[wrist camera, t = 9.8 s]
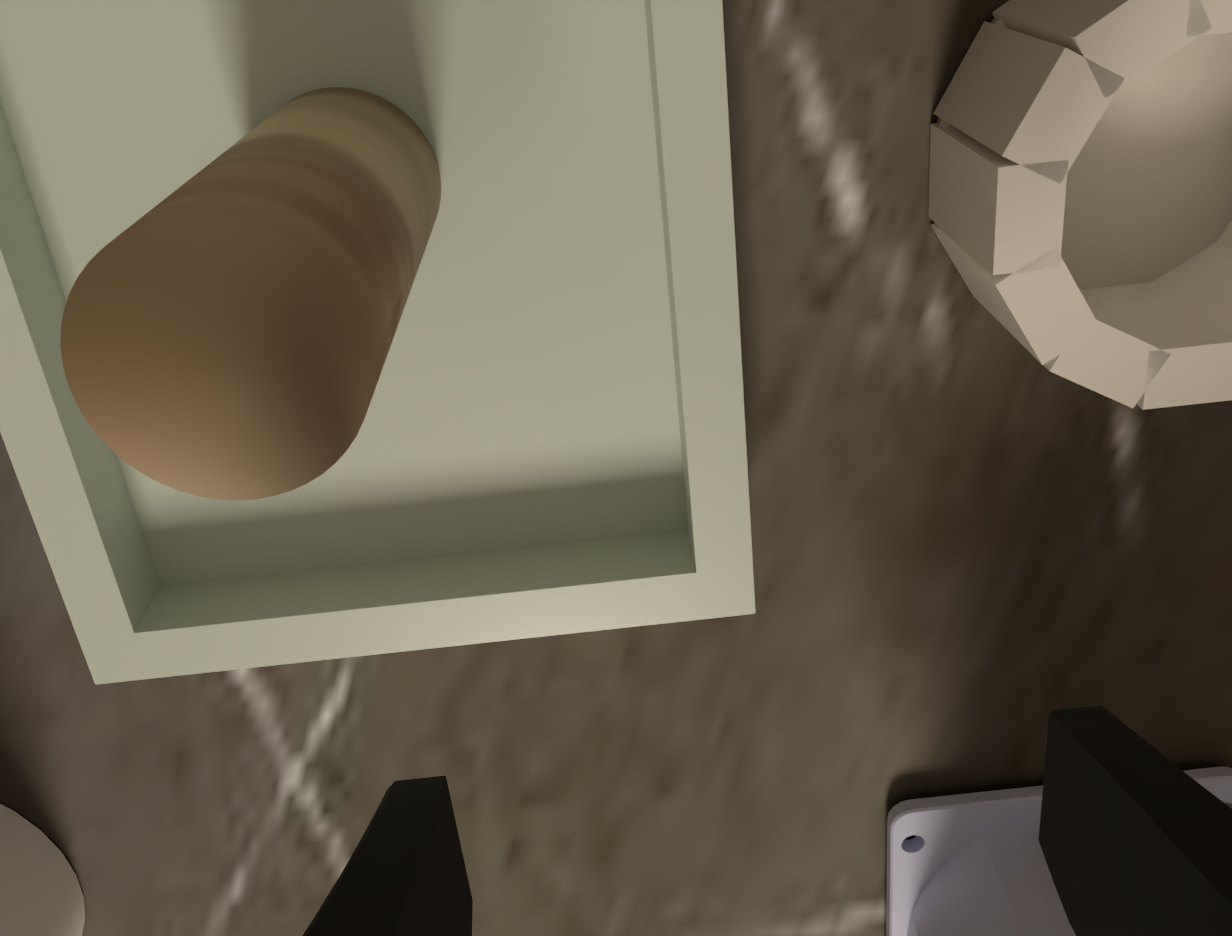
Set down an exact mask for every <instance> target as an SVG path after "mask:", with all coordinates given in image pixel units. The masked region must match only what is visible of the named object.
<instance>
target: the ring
mask: <svg viewBox="0 0 1232 936" xmlns="http://www.w3.org/2000/svg"><path fill="white" fill-rule="evenodd" d="M992 14H993V16H994V19H993V20H992V21H991V22H990V23H989V22H986V21H984V22H983V24H982V26H981V28H980V30H979V31H978V33H977V35H976V37H975V39H974V41H973V42H972V44H971V46H970V48H969V50H968V51H967V53H966V55H965V57H964V59H963V61H962V62H961V64H960V66H959V68H958V70H957V71H956V73H955V75H954V77H953V79H952V80H951V82H950V84H949V86H948V88H947V90H946V91H945V93H944V95H943V97H942V99H941V100H940V102H939V104H938V106H937V108H936V110H935V111H934V113H933V114H935V115H936V116H938V119H937V123H931V124H930V168H929V212H928V217H929V218H930V219H931V220H932V221H934V222H935V223H933V224H932V225H931V227H932V229H933V230H934V232H935V234H936V235H937V237H938V239H939V240H940V242H941V244H942V245H943V247H944V249H945V250H946V252H947V254H948V255H949V257H950V259H951V260H952V262H953V264H954V265H955V267H956V269H957V270H958V272H959V273H960V275H961V277H962V278H963V280H964V282H965V283H966V285H967V287H968V288H969V290H970V292H971V293H972V295H973V296H974V297H975V298H976V299H977V300H978V301H979V302H980V303H981V304H982V305H983V306H984V307H985V308H986V309H987V310H988V311H989V312H990V313H991V314H992V315H993V316H994V317H995V318H996V319H997V320H998V321H999V322H1000V323H1001V324H1002V325H1003V326H1004V327H1005V328H1006V329H1007V330H1008V331H1009V332H1010V333H1011V334H1012V335H1013V336H1014V337H1015V338H1016V339H1017V340H1018V341H1019V342H1020V343H1021V344H1022V345H1023V346H1024V347H1025V348H1026V349H1027V350H1028V351H1029V352H1030V353H1031V354H1032V355H1033V356H1034V357H1035V358H1036V359H1037V360H1038V361H1039V362H1040V363H1041V364H1042V365H1044V366H1045V367H1046V368H1047V369H1048V370H1049V371H1050V372H1052V373H1054V374H1057V375H1059V376H1061V377H1063V378H1066V379H1068V380H1070V381H1072V382H1075V383H1077V384H1079V385H1081V386H1084V387H1086V388H1088V389H1090V390H1093V391H1095V392H1097V393H1099V394H1102V395H1104V396H1106V397H1108V398H1111V399H1113V400H1115V401H1117V402H1120V403H1122V404H1124V405H1126V406H1129V407H1131V408H1134V406H1135V405H1136V404H1137V405H1138V406H1139V407H1140V408H1141V409H1142V410H1146V409H1155V408H1164V407H1173V406H1183V405H1192V404H1201V403H1210V402H1220V401H1229V400H1232V0H1009V1H1008V2H1006V3H1005V4H1003V5H1002V6H1000V7H999V8H998V9H996V10H995V11H993V12H992Z"/></svg>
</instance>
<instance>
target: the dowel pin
mask: <svg viewBox="0 0 1232 936" xmlns="http://www.w3.org/2000/svg"><path fill="white" fill-rule="evenodd" d="M440 200H441V180H440V172H439V168H438V164H437V160H436V158H435V155H434V152H433V150H432V148H431V146H430V144H429V142H428V140H427V138H426V137H425V135H424V134H423V132H422V131H421V130H420V128H419V127H418V126H417V125H416V123H415V122H414V121H413V120H412V119H411V118H410V117H409V116H408V115H407V114H406V113H404V112H403V111H402V110H401V109H400V108H398V107H397V106H395V105H394V104H392V103H391V102H389V101H388V100H386V99H384V98H382V97H380V96H378V95H375V94H372V93H370V92H367V91H363V90H359V89H354V88H346V87H329V88H322V89H317V90H313V91H310V92H307V93H304V94H302V95H300V96H298V97H296V98H294V99H292V100H290V101H289V102H288V103H286V104H285V105H283V106H282V107H281V108H279V109H278V110H277V111H276V112H274V113H273V114H272V115H271V116H269V117H268V118H267V119H265V120H264V121H263V122H262V123H260V124H259V125H258V126H257V127H255V128H254V129H253V130H252V131H250V132H249V133H248V134H246V135H245V136H244V137H243V138H241V139H240V140H239V141H238V142H236V143H235V144H234V145H233V146H231V147H230V148H229V149H227V150H226V151H225V152H224V153H222V154H221V155H220V156H219V157H217V158H216V159H215V160H214V161H212V162H211V163H210V164H208V165H207V166H206V167H205V168H203V169H202V170H201V171H200V172H198V173H197V174H196V175H194V176H193V177H192V178H191V179H189V180H188V181H187V182H186V183H184V184H183V185H182V186H181V187H179V188H178V189H177V190H175V191H174V192H173V193H172V194H170V195H169V196H168V197H167V198H165V199H164V200H163V201H162V202H160V203H159V204H158V205H156V206H155V207H154V208H153V209H151V210H150V211H149V212H148V213H146V214H145V215H144V216H143V217H141V218H140V219H139V220H137V221H136V222H135V223H134V224H132V225H131V226H130V227H129V228H127V229H126V230H125V231H124V232H122V233H121V234H120V235H118V236H117V237H116V238H115V239H113V240H112V241H111V242H110V243H108V244H107V245H106V246H105V247H103V248H102V249H101V250H100V251H99V252H98V253H97V254H96V255H95V256H94V257H93V258H92V259H91V260H90V261H89V262H88V264H87V265H86V266H85V268H84V269H83V270H82V272H81V273H80V274H79V276H78V277H77V279H76V281H75V283H74V285H73V287H72V289H71V291H70V293H69V296H68V299H67V302H66V305H65V308H64V312H63V318H62V324H61V344H60V347H61V355H62V363H63V368H64V372H65V375H66V379H67V383H68V386H69V388H70V390H71V393H72V395H73V398H74V400H75V402H76V404H77V406H78V408H79V409H80V411H81V413H82V415H83V416H84V418H85V420H86V421H87V422H88V424H89V425H90V426H91V428H92V429H93V430H94V432H95V433H96V434H97V436H98V437H99V438H100V439H101V440H102V441H103V442H104V443H105V444H106V445H107V446H108V447H109V448H110V449H111V450H112V451H113V452H114V453H115V454H116V455H118V456H119V457H120V458H121V459H122V460H123V461H125V462H126V463H127V464H129V465H130V466H132V467H133V468H135V469H136V470H138V471H139V472H140V473H142V474H144V475H145V476H147V477H149V478H151V479H153V480H155V481H157V482H159V483H161V484H163V485H166V486H168V487H171V488H173V489H176V490H178V491H181V492H185V493H188V494H192V495H195V496H199V497H205V498H211V499H217V500H235V501H238V500H255V499H261V498H267V497H272V496H276V495H279V494H283V493H286V492H289V491H292V490H294V489H296V488H299V487H301V486H303V485H305V484H307V483H309V482H311V481H312V480H314V479H315V478H317V477H319V476H320V475H322V474H323V473H324V472H326V471H327V470H328V469H329V468H330V467H331V466H333V465H334V464H335V463H336V462H337V461H338V460H339V459H340V458H341V457H342V455H343V454H344V453H345V452H346V451H347V450H348V448H349V447H350V445H351V444H352V442H353V441H354V439H355V438H356V436H357V434H358V432H359V430H360V428H361V426H362V423H363V421H364V419H365V416H366V413H367V411H368V408H369V405H370V402H371V399H372V397H373V394H374V391H375V388H376V385H377V383H378V380H379V377H380V374H381V371H382V369H383V366H384V363H385V360H386V358H387V355H388V352H389V349H390V346H391V344H392V341H393V338H394V335H395V332H396V330H397V327H398V324H399V321H400V319H401V316H402V313H403V310H404V307H405V305H406V302H407V299H408V296H409V293H410V291H411V288H412V285H413V282H414V279H415V277H416V274H417V271H418V268H419V266H420V263H421V260H422V257H423V254H424V252H425V249H426V246H427V243H428V240H429V238H430V235H431V232H432V229H433V226H434V224H435V221H436V218H437V214H438V211H439V206H440Z"/></svg>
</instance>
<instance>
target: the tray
mask: <svg viewBox="0 0 1232 936" xmlns="http://www.w3.org/2000/svg"><path fill="white" fill-rule="evenodd" d="M329 87H346V88H354V89H359V90H363V91H367V92H370V93H372V94H375V95H378V96H380V97H382V98H384V99H386V100H388V101H389V102H391V103H392V104H394V105H395V106H397V107H398V108H400V109H401V110H402V111H403V112H404V113H406V114H407V115H408V116H409V117H410V118H411V119H412V120H413V121H414V122H415V123H416V125H417V126H418V127H419V128H420V130H421V131H422V132H423V134H424V135H425V137H426V138H427V140H428V142H429V144H430V146H431V148H432V150H433V152H434V155H435V158H436V160H437V164H438V168H439V172H440V180H441V200H440V206H439V211H438V214H437V218H436V221H435V224H434V226H433V229H432V232H431V235H430V238H429V240H428V243H427V246H426V249H425V252H424V254H423V257H422V260H421V263H420V266H419V268H418V271H417V274H416V277H415V279H414V282H413V285H412V288H411V291H410V293H409V296H408V299H407V302H406V305H405V307H404V310H403V313H402V316H401V319H400V321H399V324H398V327H397V330H396V332H395V335H394V338H393V341H392V344H391V346H390V349H389V352H388V355H387V358H386V360H385V363H384V366H383V369H382V371H381V374H380V377H379V380H378V383H377V385H376V388H375V391H374V394H373V397H372V399H371V402H370V405H369V408H368V411H367V413H366V416H365V419H364V421H363V423H362V426H361V428H360V430H359V432H358V434H357V436H356V438H355V439H354V441H353V442H352V444H351V445H350V447H349V448H348V450H347V451H346V452H345V453H344V454H343V455H342V457H341V458H340V459H339V460H338V461H337V462H336V463H335V464H334V465H333V466H331V467H330V468H329V469H328V470H327V471H326V472H324V473H323V474H322V475H320V476H319V477H317V478H315V479H314V480H312V481H311V482H309V483H307V484H305V485H303V486H301V487H299V488H296V489H294V490H292V491H289V492H286V493H283V494H279V495H276V496H272V497H267V498H261V499H255V500H238V501H235V500H217V499H211V498H205V497H199V496H195V495H192V494H188V493H185V492H181V491H178V490H176V489H173V488H171V487H168V486H166V485H163V484H161V483H159V482H157V481H155V480H153V479H151V478H149V477H147V476H145V475H144V474H142V473H140V472H139V471H138V470H136V469H135V468H133V467H132V466H130V465H129V464H127V463H126V462H125V461H123V460H122V459H121V458H120V457H119V456H118V455H116V454H115V453H114V452H113V451H112V450H111V449H110V448H109V447H108V446H107V445H106V444H105V443H104V442H103V441H102V440H101V439H100V438H99V437H98V436H97V434H96V433H95V432H94V430H93V429H92V428H91V426H90V425H89V424H88V422H87V421H86V420H85V418H84V416H83V415H82V413H81V411H80V409H79V408H78V406H77V404H76V402H75V400H74V398H73V395H72V393H71V390H70V388H69V386H68V383H67V379H66V375H65V372H64V368H63V363H62V355H61V347H60V344H61V324H62V318H63V312H64V308H65V305H66V302H67V299H68V296H69V293H70V291H71V289H72V287H73V285H74V283H75V281H76V279H77V277H78V276H79V274H80V273H81V272H82V270H83V269H84V268H85V266H86V265H87V264H88V262H89V261H90V260H91V259H92V258H93V257H94V256H95V255H96V254H97V253H98V252H99V251H100V250H101V249H102V248H103V247H105V246H106V245H107V244H108V243H110V242H111V241H112V240H113V239H115V238H116V237H117V236H118V235H120V234H121V233H122V232H124V231H125V230H126V229H127V228H129V227H130V226H131V225H132V224H134V223H135V222H136V221H137V220H139V219H140V218H141V217H143V216H144V215H145V214H146V213H148V212H149V211H150V210H151V209H153V208H154V207H155V206H156V205H158V204H159V203H160V202H162V201H163V200H164V199H165V198H167V197H168V196H169V195H170V194H172V193H173V192H174V191H175V190H177V189H178V188H179V187H181V186H182V185H183V184H184V183H186V182H187V181H188V180H189V179H191V178H192V177H193V176H194V175H196V174H197V173H198V172H200V171H201V170H202V169H203V168H205V167H206V166H207V165H208V164H210V163H211V162H212V161H214V160H215V159H216V158H217V157H219V156H220V155H221V154H222V153H224V152H225V151H226V150H227V149H229V148H230V147H231V146H233V145H234V144H235V143H236V142H238V141H239V140H240V139H241V138H243V137H244V136H245V135H246V134H248V133H249V132H250V131H252V130H253V129H254V128H255V127H257V126H258V125H259V124H260V123H262V122H263V121H264V120H265V119H267V118H268V117H269V116H271V115H272V114H273V113H274V112H276V111H277V110H278V109H279V108H281V107H282V106H283V105H285V104H286V103H288V102H289V101H290V100H292V99H294V98H296V97H298V96H300V95H302V94H304V93H307V92H310V91H313V90H317V89H322V88H329ZM0 433H1V435H2V438H3V441H4V443H5V446H6V449H7V451H8V454H9V457H10V459H11V462H12V465H13V467H14V470H15V473H16V475H17V478H18V481H19V483H20V486H21V488H22V491H23V494H24V496H25V499H26V502H27V504H28V507H29V510H30V512H31V515H32V518H33V520H34V523H35V526H36V528H37V531H38V534H39V536H40V539H41V542H42V544H43V547H44V550H45V552H46V555H47V558H48V560H49V563H50V566H51V568H52V571H53V574H54V576H55V579H56V582H57V584H58V587H59V590H60V592H61V595H62V598H63V600H64V603H65V606H66V608H67V611H68V613H69V616H70V619H71V621H72V624H73V627H74V629H75V632H76V635H77V637H78V640H79V643H80V645H81V648H82V651H83V653H84V656H85V659H86V661H87V664H88V667H89V669H90V672H91V675H92V677H93V680H94V683H95V685H96V684H105V683H114V682H124V681H133V680H142V679H152V678H161V677H170V676H179V675H189V674H198V673H207V672H217V671H226V670H235V669H245V668H254V667H263V666H273V665H282V664H291V663H300V662H310V661H319V660H328V659H338V658H347V657H356V656H366V655H375V654H384V653H394V652H403V651H412V650H421V649H431V648H440V647H449V646H459V645H468V644H477V643H487V642H496V641H505V640H515V639H524V638H533V637H543V636H552V635H561V634H570V633H580V632H589V631H598V630H608V629H617V628H626V627H636V626H645V625H654V624H664V623H673V622H682V621H691V620H701V619H710V618H719V617H729V616H738V615H747V614H755V597H754V578H753V560H752V541H751V523H750V504H749V486H748V467H747V449H746V430H745V412H744V393H743V375H742V356H741V338H740V320H739V301H738V283H737V264H736V246H735V227H734V209H733V190H732V172H731V153H730V135H729V116H728V98H727V79H726V61H725V42H724V24H723V5H722V0H0Z"/></svg>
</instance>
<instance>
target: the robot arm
mask: <svg viewBox="0 0 1232 936" xmlns="http://www.w3.org/2000/svg"><path fill="white" fill-rule="evenodd" d="M912 835H916V837H915V838H913V839H910V840H904V839H905V838H907V837H909V836H912ZM303 936H472V896H471V891H470V887H469V882H468V877H467V873H466V868H465V863H464V859H463V854H462V850H461V845H460V840H459V836H458V831H457V826H456V822H455V817H454V812H453V808H452V803H451V799H450V794H449V789H448V785H447V780H446V776H439V777H429V778H420V779H411V780H401V781H395V782H394V783H393V784H392V785H391V786H390V787H389V788H388V789H387V791H386V793H385V795H384V797H383V799H382V801H381V803H380V805H379V807H378V809H377V811H376V812H375V814H374V816H373V818H372V820H371V822H370V824H369V826H368V827H367V829H366V831H365V833H364V835H363V837H362V838H361V840H360V842H359V844H358V846H357V847H356V849H355V851H354V853H353V854H352V856H351V858H350V860H349V861H348V863H347V865H346V867H345V868H344V870H343V872H342V873H341V875H340V877H339V878H338V880H337V882H336V883H335V885H334V886H333V888H332V890H331V891H330V893H329V895H328V896H327V898H326V899H325V901H324V903H323V904H322V906H321V908H320V909H319V911H318V912H317V914H316V916H315V917H314V919H313V920H312V922H311V924H310V925H309V927H308V928H307V930H306V931H305V933H304V934H303ZM886 936H1232V768H1230V767H1212V768H1202V769H1193V770H1181V769H1180V768H1179V767H1177V766H1176V765H1175V764H1174V763H1172V762H1171V761H1170V760H1169V759H1167V758H1166V757H1165V756H1164V755H1162V754H1161V753H1160V752H1159V751H1157V750H1156V749H1155V748H1154V747H1152V746H1151V745H1150V744H1149V743H1147V742H1146V741H1145V740H1144V739H1142V738H1141V737H1140V736H1139V735H1137V734H1136V733H1135V732H1134V731H1133V730H1131V729H1130V728H1129V727H1128V726H1126V725H1125V724H1124V723H1123V722H1121V721H1120V720H1119V719H1117V718H1116V717H1115V716H1114V715H1112V714H1111V713H1110V712H1109V711H1107V710H1106V709H1105V708H1103V707H1102V706H1095V707H1086V708H1076V709H1067V710H1057V711H1050V714H1049V725H1048V736H1047V748H1046V759H1045V771H1044V782H1043V785H1042V786H1033V787H1023V788H1014V789H1005V790H995V791H986V792H976V793H967V794H958V795H948V796H939V797H929V798H920V799H910V800H906V801H902V802H900V803H898V804H897V805H895V806H894V807H893V808H892V809H891V810H890V811H889V814H888V818H887V903H886Z"/></svg>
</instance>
